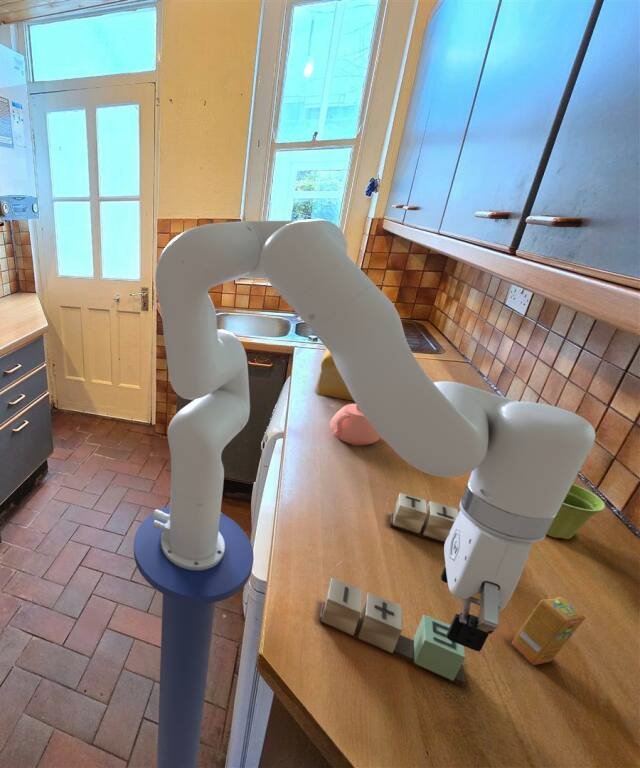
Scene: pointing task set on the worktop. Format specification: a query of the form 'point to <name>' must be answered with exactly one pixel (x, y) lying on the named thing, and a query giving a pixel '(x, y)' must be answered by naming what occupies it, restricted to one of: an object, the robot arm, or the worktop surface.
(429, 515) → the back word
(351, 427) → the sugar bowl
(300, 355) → the worktop surface
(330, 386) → the bread
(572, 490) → the plant pot
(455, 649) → the pale green cube
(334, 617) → the front word
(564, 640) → the supplement box
